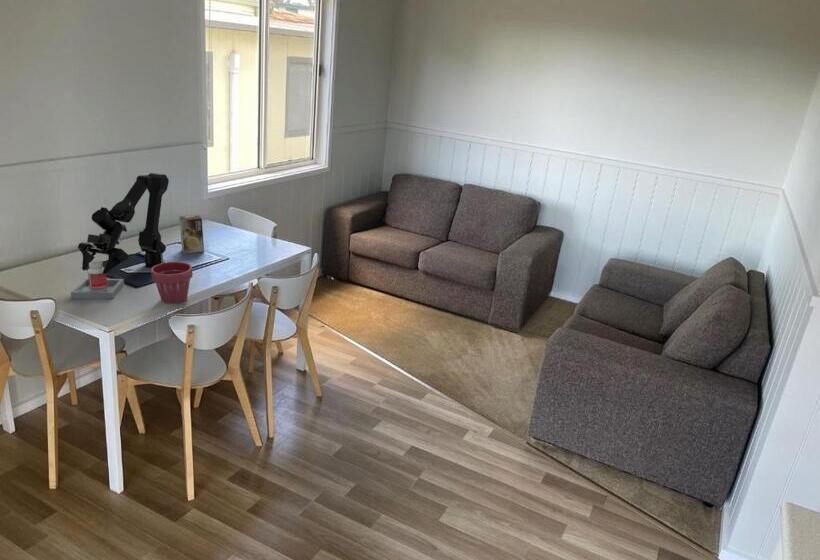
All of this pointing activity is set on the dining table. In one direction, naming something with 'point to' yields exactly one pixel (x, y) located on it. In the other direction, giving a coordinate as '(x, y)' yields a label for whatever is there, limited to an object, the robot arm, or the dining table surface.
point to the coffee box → (191, 234)
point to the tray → (84, 291)
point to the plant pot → (172, 281)
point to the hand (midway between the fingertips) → (93, 271)
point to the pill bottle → (97, 277)
